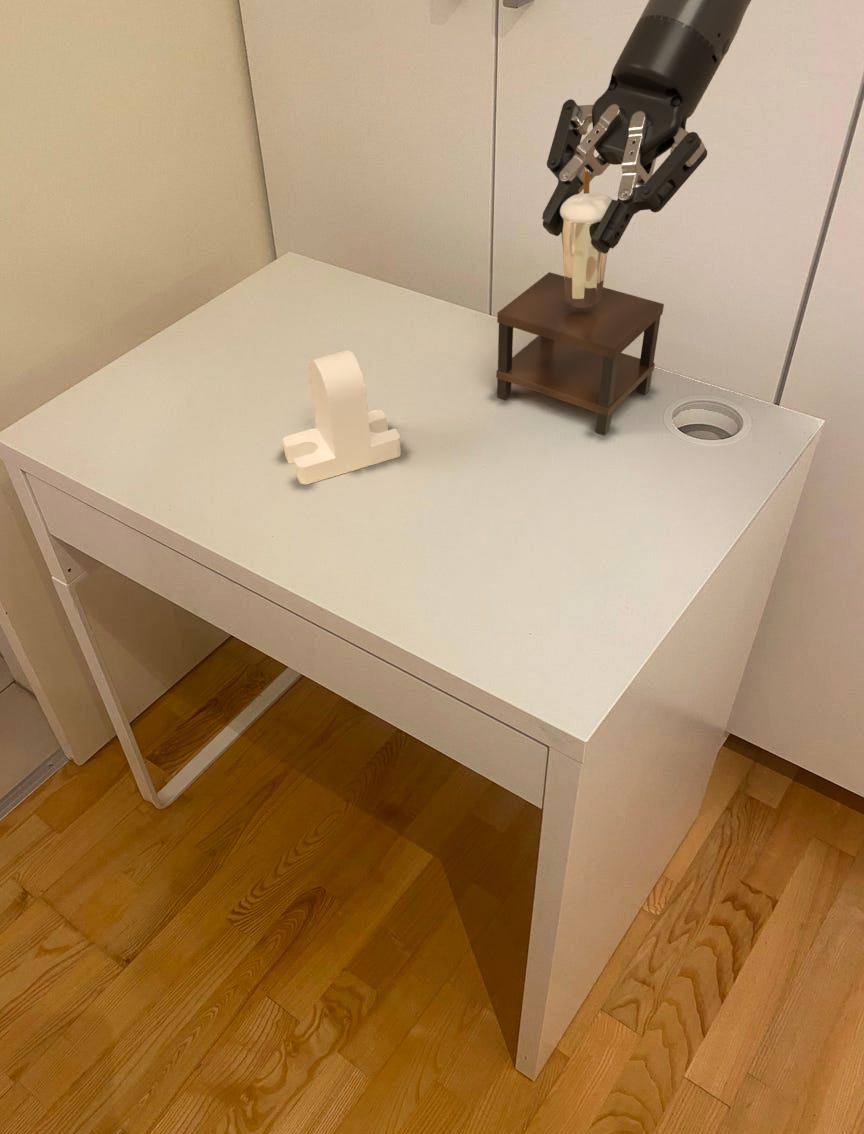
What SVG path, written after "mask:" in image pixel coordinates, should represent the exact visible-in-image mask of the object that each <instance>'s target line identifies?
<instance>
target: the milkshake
mask: <svg viewBox="0 0 864 1134" xmlns="http://www.w3.org/2000/svg"><path fill="white" fill-rule="evenodd" d="M590 182H591V181H590V171H584V189H583V193H579V194H577V195H573V196H571V197H570V198H568V199H567V200H566V201H565V202H564V203H563V204H562V206H561V208H560V220H561V233H560V235H561V244H562V253H563V254H562V255H563V257H562V259H563V276H564V288H565V302H566V303H567V304H569V305H571V306H572V307H580V308H585V307H591V306H595V305H596V304H597V303H599V302H600V301H601V296H602V289H603V287H604V283H605V276H606V268H607V267H606V266H607V261H608V254H609V251H608V252H607V253H606V254H604V253H601V252H599V251H597V250H596V249H595V248H594V247H593V245H592V244H591V239H592V236H593V234H594V232H595V231H596V229H597V227H598V225H599V223H600V221H601V219H602V218H603V216H604V214H605V212H606V210H607V208H608V206H609V205H610V203H611V201H612V199H613V198H612V197H611V196H610V195H607V194H602V193H600V192H594V193H593V192H592V193H590V185H591V184H590Z"/></svg>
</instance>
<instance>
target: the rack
mask: <svg viewBox="0 0 864 1134" xmlns="http://www.w3.org/2000/svg"><path fill="white" fill-rule="evenodd" d="M664 306H665V304H664V303H662V302H659V301H655V300H651V299H647V298H644V297H640V296H636V295H633V294H630V293H625V292H622V291H620V290H619V291H618V290H615V289H611V288H608V287H604V286H603V289H602V296H601V301H600V302H599V303H597V304H596V305H595V306H591V307H585V308H580V307H572V306H571V305H569V304H567V303H566V302H565V288H564V275H561V274H557V273H554V272H552V271H551V272H550V271H549V272H547V273H546V274H544V275H543V276H542V277H541V278H540V279H538V280H537V281H536V282H535V283H533V284H532V285H531V286H529V287H528V288H527V289H526V290H524V291H523V292H522V293H521V294H519V295H518V296H517V297H516V298H514V299H513V300H512V301H511V302H509V303H508V304H507V305H505V306H504V307H503V308H501V309H500V310H499V311H498V312H497V313H496V314H497V316H496V317H497V318H496V322H497V324H498V337H497V338H498V339H497V340H498V345H497V347H498V348H497V370H495V371H496V372H495V373H496V374H495V375H496V376H495V377H496V379H497V385H496V386H497V387H496V389H497V390H496V391H497V392H496V393H497V394H496V398H498V399H501V400H504V401H507V400H508V399H509V398H510V397H511V396H512V384H513V385H516V386H519V387H522V388H526V389H527V390H531V391H534V392H536V393H539V394H542V395H545V396H548V397H550V398H554V399H557V400H560V401H563V402H566V403H569V404H572V405H573V406H577V407H580V408H584V409H586V410H589V411H592V412H594V413H596V421H595V429H594V432H595V433H596V434H599V435H602V436H606V434H608V433H609V431H611V422H612V413H613V411H614V410H615V409H616V408H617V407H618V406H619V405H620V404H621V403H622V402H623V401H624V400H625V399H626V398H627V397H628V396H629V395H630V394H631V393H632V392H634V390H635V393H637V394H640V395H643V396H645V395H646V394H647V393H649V392H650V389H651V383H652V376H653V372H654V371H655V365H656V364H655V356H656V349H657V343H658V335H659V331H660V330H659V329H660V324H661V318H662V317H661V316H662V315H663V312H664ZM514 329H517V330H520V331H523V332H526V333H530V334H533V335H536V337H535V338H534V339H532V340H531V341H530V342H529V343H528V344H527V345H525V346H524V347H523V348H522V349H520V350H519V351H518V352H517V353H516V354H514V355H513V350H514V349H513V347H514V345H513V344H514ZM641 334H643V335H642V336H643V337H642V345H641V351H640V358H639V357H637V356H633V355H630V354H627V353H623V351H625V350H626V349H627V348H628V347H629V346H630V345H631V344H632V343H633V342H634V341H635V340H636V339H637V338H638V337H640V336H641Z"/></svg>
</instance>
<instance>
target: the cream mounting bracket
mask: <svg viewBox="0 0 864 1134" xmlns="http://www.w3.org/2000/svg"><path fill="white" fill-rule="evenodd" d="M308 378H309V385H310V393H311V400H312V408H313V414H314V423H315V427H313V428H310V429H307V430H302V431H300V432H295V433H293V434H289V435H285V436H284V437H283V438H282V444H283V451H284V455H285V459H286V461H287V462H288V465H292V464H293V465H294V472H295V477H296V479H297V480H298V482H299V483H300V484H301V485H310V484H313V483H316V482H320V481H324V480H326V479H330V478H332V477H336V476H339V475H344V474H347V473H350V472H353V471H357V470H360V469H363V468H367V467H370V466H373V465H377V464H380V463H383V462H387V461H390V460H394V459H396V458H400V456H401V455H402V449H401V434H400V433H399V432H398V430H397V429H396V428H392V429H389V427H388V425H389V424H388V417H387V415H386V413H384V411H383V410H381V409H374V410H370V411H369V408H368V399H367V390H366V384H365V380H364V376H363V372H362V369H361V367H360V365H359V362H358V360H357V358H356V356H355V354H354V353H353V352H352V351H351V350H349V349H346V350H342V351H337V352H335V353H331V354H328V355H323V356H320V357H317V358H313V359H310V360H309V362H308Z"/></svg>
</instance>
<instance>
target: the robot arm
mask: <svg viewBox="0 0 864 1134" xmlns="http://www.w3.org/2000/svg"><path fill="white" fill-rule="evenodd" d="M751 2H752V0H648V1H647V4H646V6H645V7H644V9H643V11H642V13H641V15H640V17H639V19H638V21H637V23H636V25H635V26H634V28H633V30H632V32H631V34H630V36H629V38H628V40H627V42H626V43H625V45H624V47H623V49H622V51H621V53H620V55H619V56H618V59H617V60H616V63H615V64H614V67H613V68H612V72H611V76H610V80H609V84H608V87H607V89H606V90H605V91H604V92H603V94H602V95H600V97H598V98H597V99H596V100H595V101H594V103H593V104H582V105H580V104H579V105H578V104H577V102H576V101H575V100H574V99H573V98H572V99H571V98H570V99H567V100H566V101H565V102H563V104H562V106H561V109H560V114H559V117H558V120H557V125H556V128H555V132H554V135H553V139H552V141H551V146H550V150H549V154H548V157H547V161H546V167H547V168H548V169H549V170H550V172H551V173H552V174H553V176H554V177H555V178H556V179H557V185H556V187H555V189H554V191H553V193H552V195H551V197H550V199H549V200H548V202H547V204H546V206H545V208H544V210H543V212H542V216H541V219H542V226H543V228H544V229H545V230H546V231H547V233H549V234H550V235H553V236H555V237H559V236H560V235H561V220H560V208H561V206H562V204H563V203H564V202H565V201H566V200H567V199H568V198H570V197H571V196H573V195H577V194H581V193H582V192H583V191H584V171H590V182H591V181H592V180H593V179H594V178H595V177H597V176H601V175H602V174H603V173H604V172H605V170H607V169H608V167H609V166H611V165H613V166H614V165H621V172H622V174H621V179H620V183H619V187H618V190H617V199H613V198H612V201H611V203H610V205H609V206H608V208H607V210H606V212H605V214H604V216H603V218H602V219H601V221H600V223H599V225H598V227H597V229H596V231H595V232H594V234H593V236H592V239H591V244H592V245H593V247H594V248H595V249H596V250H597V251H599V252H601V253H604V254H606V253H607V252H608V253H609V252H610V250H611V249H614V248H615V247H617V245H618V244H619V242H620V241H621V239H622V237H623V235H624V232H626V229H627V228H628V227H629V224H630V222H631V220H632V218H633V217H634V215H635V214H637V213H639V212H640V211H651V212H652V213H659V212H660V211H662V209H664V207H665V206H666V205H667V204H668V203H669V201H670V200H672V198H673V197H674V195H675V194H676V193H677V192H678V191H679V190H680V188H681V187H682V186H683V185H684V184H685V183H686V181H688V179H689V178H690V177H691V176H692V175H693V173H694V172H695V171H696V170H697V169H698V167H700V165H701V164H702V163H704V161H705V159H706V158H707V156H708V150H707V148H706V146H705V143H704V142H703V140H702V138H701V137H700V136H699V134H698V132H695V131H690V132H689V131H687V130H686V129H687V128H686V126H687V120H688V119H689V118H690V117H692V116H693V114H694V113H695V111H696V109H697V108H698V105H699V104H700V102H701V100H702V98H703V96H704V95H705V93H706V91H707V89H708V87H709V85H710V84H711V82H712V80H713V78H714V76H715V75H716V73H717V71H718V69H719V67H720V66H721V63H722V62H723V60H724V58H725V56H726V55H727V53H728V52H729V50H730V48H731V45H732V44H733V41H734V40H735V38H736V37H737V36H736V35H737V34H738V31H739V29H740V27H741V24H742V21H743V19H744V16H745V14H746V11H747V10H748V8H749V5H750V4H751ZM591 124H592V129H591V130H590V131H589V132H588V129H589V126H590V125H591ZM585 135H586V136H585ZM583 136H585V137H584V138H583ZM582 138H583V139H582ZM595 151H596V152H597V153H598V155H597V156H595V155H594V153H595ZM668 151H670V153H669V155H668V156H667V157H666V158H665V159H664V161H663V162H662V163H661V164H660V165H659V166H658V168H657V169H656V170H654V169H655V166H656V161H657V158H659V157H661V156H662V155H663V154H665V153H666V152H668Z"/></svg>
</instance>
